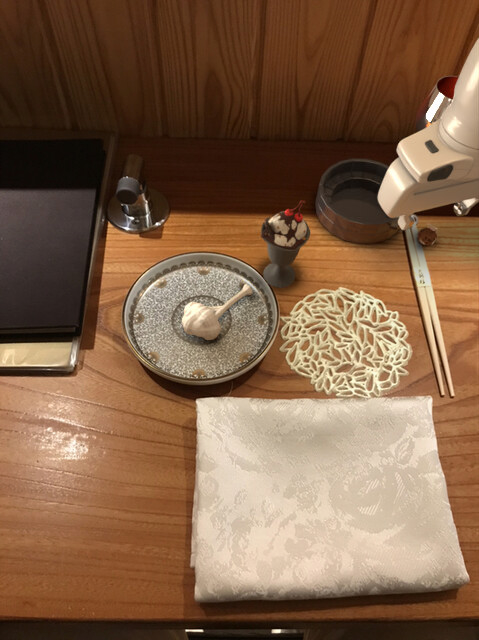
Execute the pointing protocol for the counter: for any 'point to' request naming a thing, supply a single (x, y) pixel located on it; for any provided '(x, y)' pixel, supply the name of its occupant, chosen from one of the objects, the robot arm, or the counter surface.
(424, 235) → the chocolate
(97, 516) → the counter surface
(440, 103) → the wineglass
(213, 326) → the garlic bulb
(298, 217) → the sundae
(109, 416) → the counter surface
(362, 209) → the bowl
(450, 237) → the counter surface
